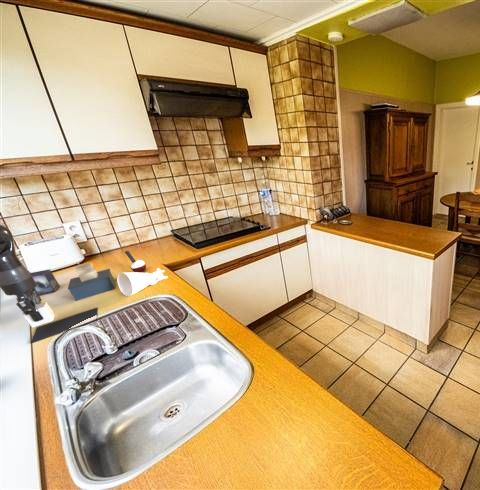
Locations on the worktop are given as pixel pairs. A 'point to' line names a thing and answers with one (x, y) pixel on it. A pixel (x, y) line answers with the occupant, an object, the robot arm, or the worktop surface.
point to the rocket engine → (138, 281)
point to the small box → (45, 282)
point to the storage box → (92, 285)
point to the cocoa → (136, 264)
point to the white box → (45, 313)
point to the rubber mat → (61, 325)
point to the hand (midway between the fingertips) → (40, 316)
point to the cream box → (86, 272)
